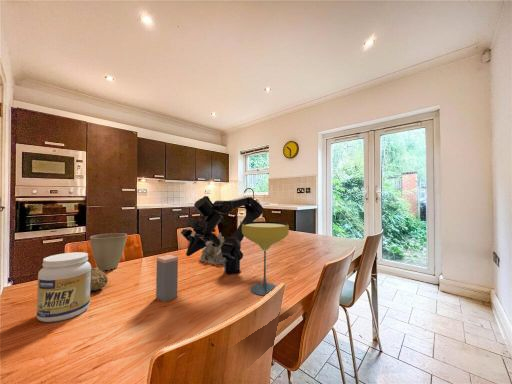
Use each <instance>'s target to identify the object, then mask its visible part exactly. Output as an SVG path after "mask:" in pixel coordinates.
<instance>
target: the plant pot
mask: <svg viewBox="0 0 512 384" xmlns="http://www.w3.org/2000/svg"><path fill="white" fill-rule="evenodd" d="M127 237H128V234H127V233H120V232H118V233H117V232H115V233H114V232H110V233H100V234H95V235H91V236H89V241H90V247H91V251H92V255H93V259H94V261H95V265H96V267H97V269H99V270H101V271H103V272H106V271H105V270H108V271H112V270H111V269H113V270H115V269H114V268H116V269H117V268H118V266H119V264H120V261H121V259H122V256H123V254H124V250H125V246H126V242H127Z"/></svg>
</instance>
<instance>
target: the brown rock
mask: <svg viewBox="0 0 512 384" xmlns="http://www.w3.org/2000/svg"><path fill="white" fill-rule="evenodd" d="M108 281H109V279H108V275H107V274H106V273H105V271H101V270H99V269H98V267H97V268H96V267H94V266H93V267H92V266H91V281H90V292H91V291H98V290H100V289H103V288H104V287H106V285H107V284H108Z"/></svg>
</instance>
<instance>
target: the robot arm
mask: <svg viewBox="0 0 512 384" xmlns="http://www.w3.org/2000/svg"><path fill="white" fill-rule="evenodd" d="M240 207H244V209H245V216H244V218H243V219H242V221H241V223H240V224H239V225H238V227H237V228H236V230H235V231H234V233H233V235H231V237H224V242H223V243H222V246H221V253H222V256H223V258H225V262H224V264H223V270H224V272H225V273H226V274H228V275H232V274H237V273H241V272H242V270H241V260H242V259H243V257H244V253H243V252H242V251H241V248H242V242H243V241H242V240H244V238H245V236H244V235H243V234H242V224H243V223H246V222H255V220H257V219H259V218H260V217H261V216H262V214H263V213H264V207H263V205H261V204H260V202H258V201H256V200H255V199H254V198H253V197H252V196H242V197H238V198H235V199H230V200H215V201H211V199H210V197H209V196H207V195H204V196H203V197H201V198H199V199H198V200H196V201H195V202H194V208H195V209H196V210H197V211H198V213H199V214H200V215H201V216H202V217H204V218H198V219H196V218H191V217H190V218H188V219H187V223H186V227H188V228H191V229H188V228H183V229H182V230H181V232H180V235H182V237H184V238H185V239H186V241H188V243H189V244H188V246H187V249H186V253H185V255H186V257H190V256H192V255H194V254H195V253H196V252H198V251H200V250H202V248H204V247H207V243H208V242H209V241H210V242H211V243H212V246H213V247H218V246H219V244H220V240H219V238H218V235H217V234H216V231H217V230H216V227H217V226H218V224H219V223H225V219H224V216H223V215H221V214H224V215H225V214H229V213H231V212H232V211H234V209H237V208H240Z"/></svg>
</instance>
